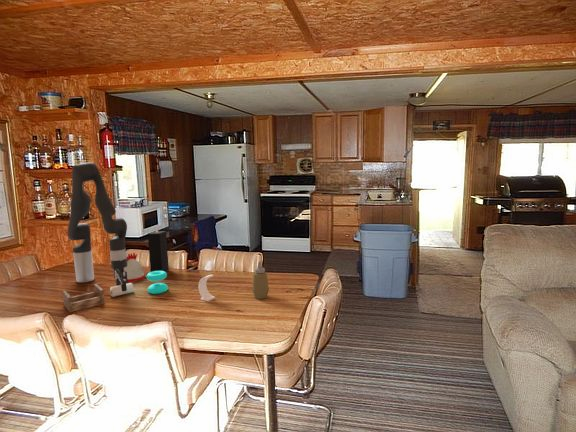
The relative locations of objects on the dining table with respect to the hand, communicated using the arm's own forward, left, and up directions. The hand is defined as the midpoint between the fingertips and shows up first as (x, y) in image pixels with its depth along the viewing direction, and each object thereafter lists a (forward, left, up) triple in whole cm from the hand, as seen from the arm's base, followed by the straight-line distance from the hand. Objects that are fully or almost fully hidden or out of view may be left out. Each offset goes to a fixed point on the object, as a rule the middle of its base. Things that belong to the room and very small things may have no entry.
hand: (121, 289), depth 191 cm
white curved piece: (+37, +28, -3) cm, 46 cm away
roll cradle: (+2, -18, -3) cm, 18 cm away
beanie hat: (-24, +13, -3) cm, 28 cm away
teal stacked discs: (+9, +15, -3) cm, 18 cm away
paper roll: (0, 0, -3) cm, 3 cm away
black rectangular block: (-25, +30, -3) cm, 40 cm away
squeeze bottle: (+54, +48, -3) cm, 72 cm away
